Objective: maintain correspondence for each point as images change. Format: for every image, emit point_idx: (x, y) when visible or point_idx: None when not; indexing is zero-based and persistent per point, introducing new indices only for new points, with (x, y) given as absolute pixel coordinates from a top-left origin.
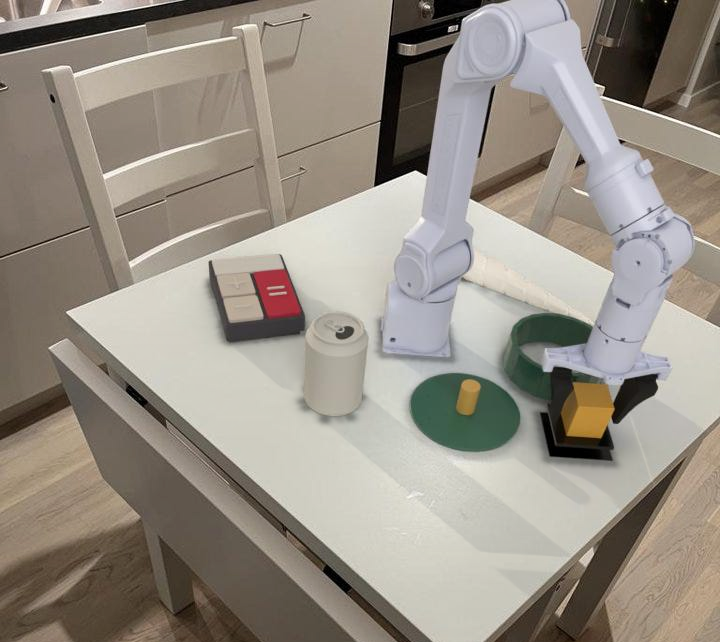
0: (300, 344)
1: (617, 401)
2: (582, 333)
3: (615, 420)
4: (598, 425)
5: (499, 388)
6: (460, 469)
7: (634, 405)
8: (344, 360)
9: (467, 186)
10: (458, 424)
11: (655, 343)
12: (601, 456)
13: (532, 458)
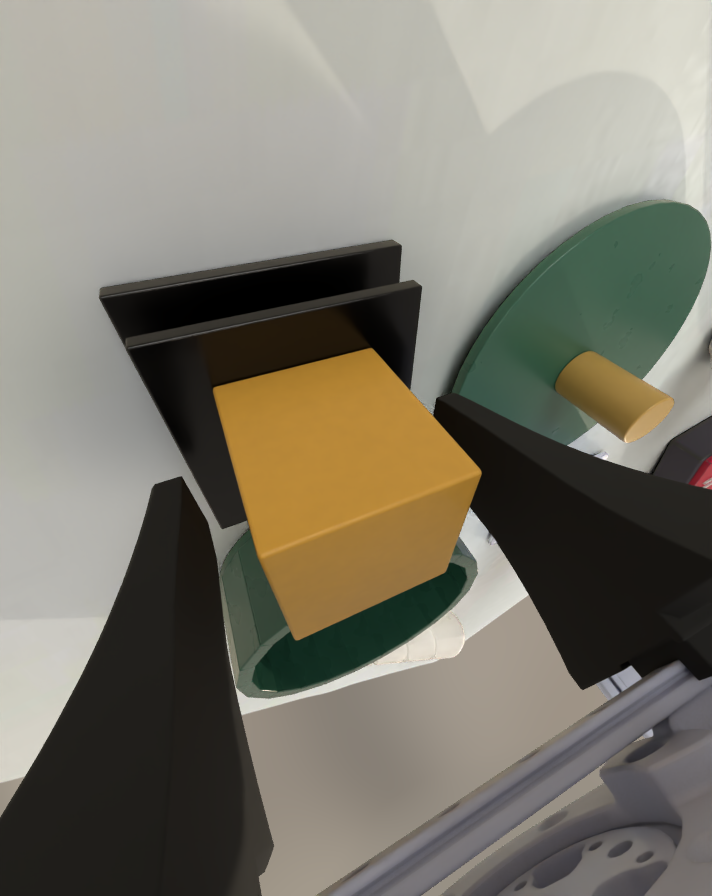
0: (689, 419)
1: (212, 592)
2: (295, 664)
3: (182, 494)
4: (276, 428)
5: None
6: (694, 104)
7: (111, 655)
8: None
9: None
10: (622, 310)
11: None
12: (169, 310)
13: (446, 232)
